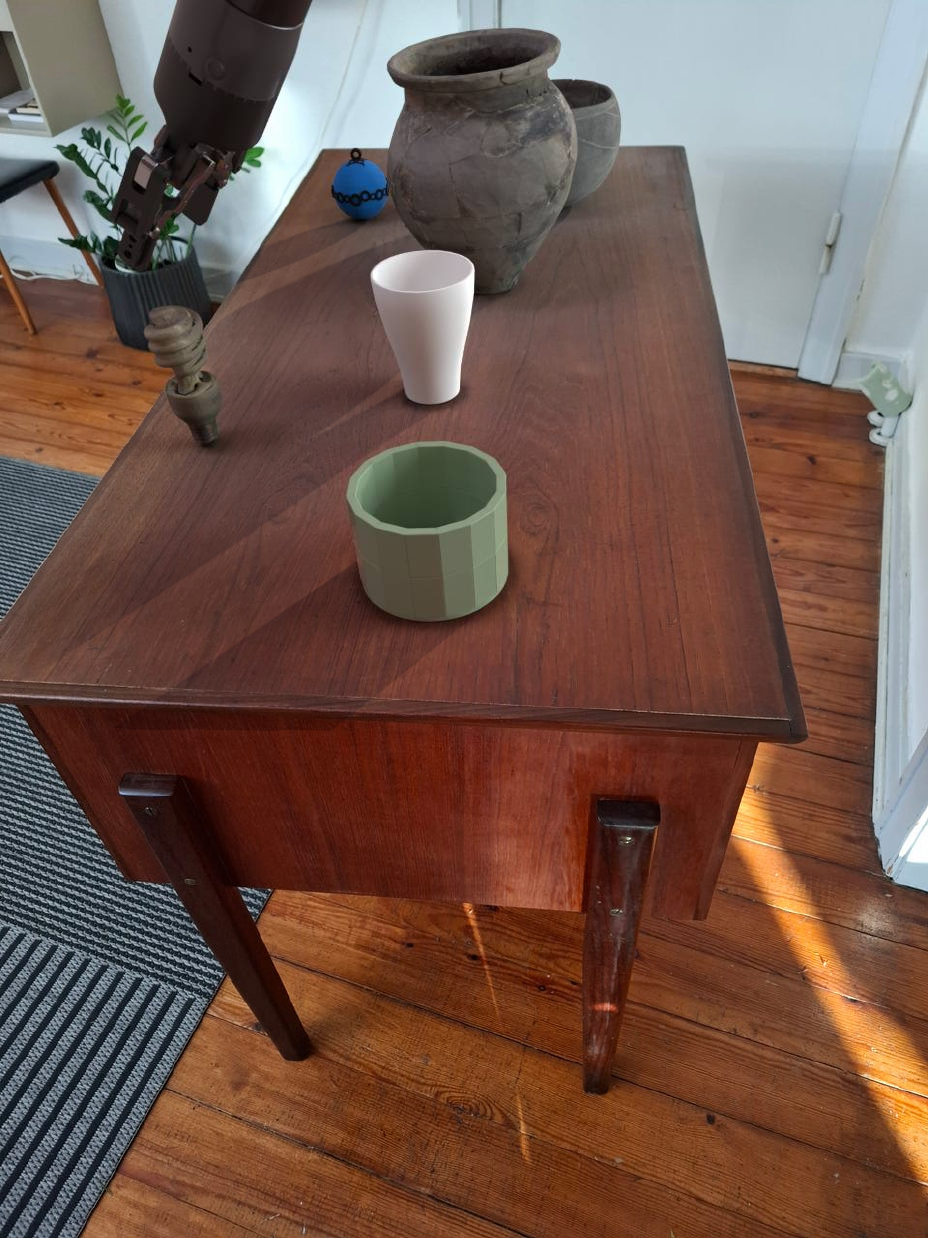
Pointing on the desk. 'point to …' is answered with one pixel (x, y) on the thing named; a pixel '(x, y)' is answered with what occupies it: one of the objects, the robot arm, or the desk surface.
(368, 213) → the ornament
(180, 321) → the light bulb
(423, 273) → the cup
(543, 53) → the clay pot
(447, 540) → the pot
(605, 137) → the bowl
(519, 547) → the desk surface
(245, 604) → the desk surface
